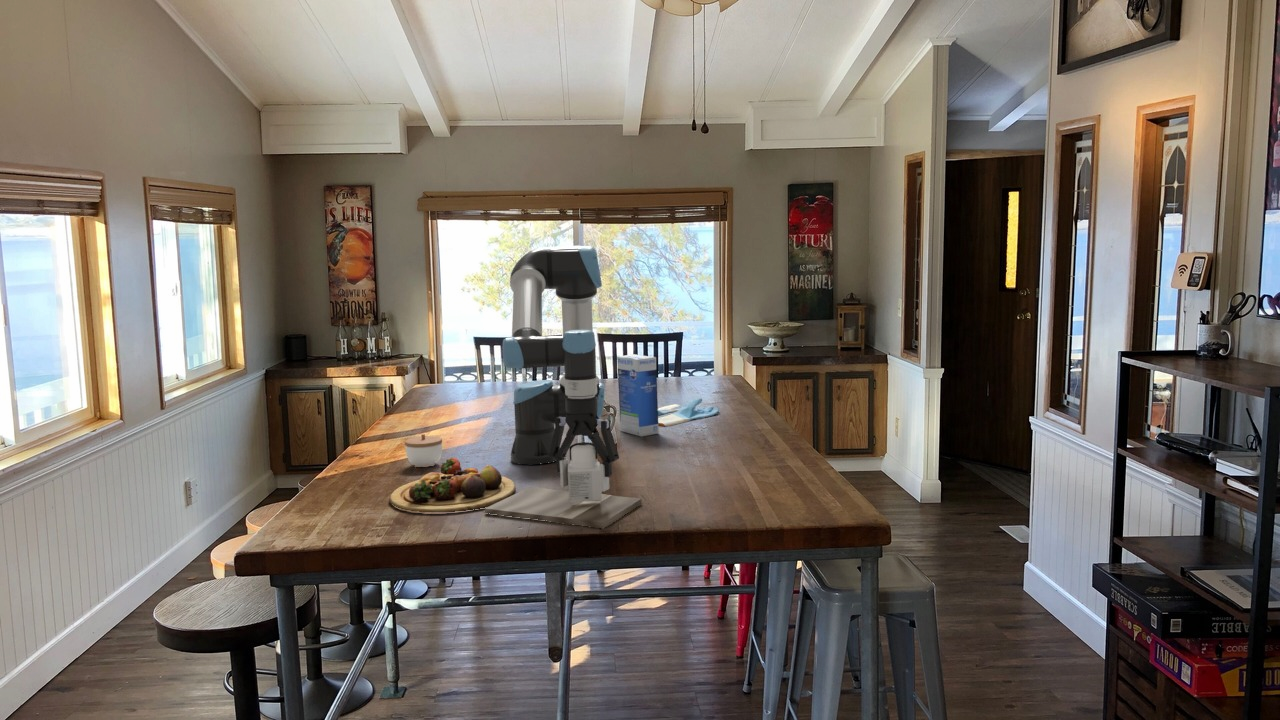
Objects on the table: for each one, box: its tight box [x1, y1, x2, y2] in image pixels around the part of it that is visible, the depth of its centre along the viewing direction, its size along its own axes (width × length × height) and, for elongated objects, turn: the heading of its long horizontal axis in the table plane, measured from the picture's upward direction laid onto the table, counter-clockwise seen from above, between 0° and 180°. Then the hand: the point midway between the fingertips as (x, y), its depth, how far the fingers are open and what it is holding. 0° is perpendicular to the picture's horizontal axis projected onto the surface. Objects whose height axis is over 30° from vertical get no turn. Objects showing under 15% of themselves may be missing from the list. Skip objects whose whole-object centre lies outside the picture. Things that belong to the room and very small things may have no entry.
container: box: [567, 442, 603, 502], centre depth 215 cm, size 8×8×13 cm
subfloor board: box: [484, 486, 643, 530], centre depth 219 cm, size 32×20×2 cm, turn 65°
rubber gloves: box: [658, 397, 720, 428], centre depth 333 cm, size 27×33×6 cm
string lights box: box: [616, 353, 660, 437], centre depth 303 cm, size 13×8×26 cm, turn 34°
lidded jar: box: [404, 433, 443, 466], centre depth 267 cm, size 11×11×9 cm
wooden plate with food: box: [389, 457, 517, 512], centre depth 233 cm, size 32×32×8 cm
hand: (584, 487), depth 216 cm, fingers closed on container, 10 cm apart
